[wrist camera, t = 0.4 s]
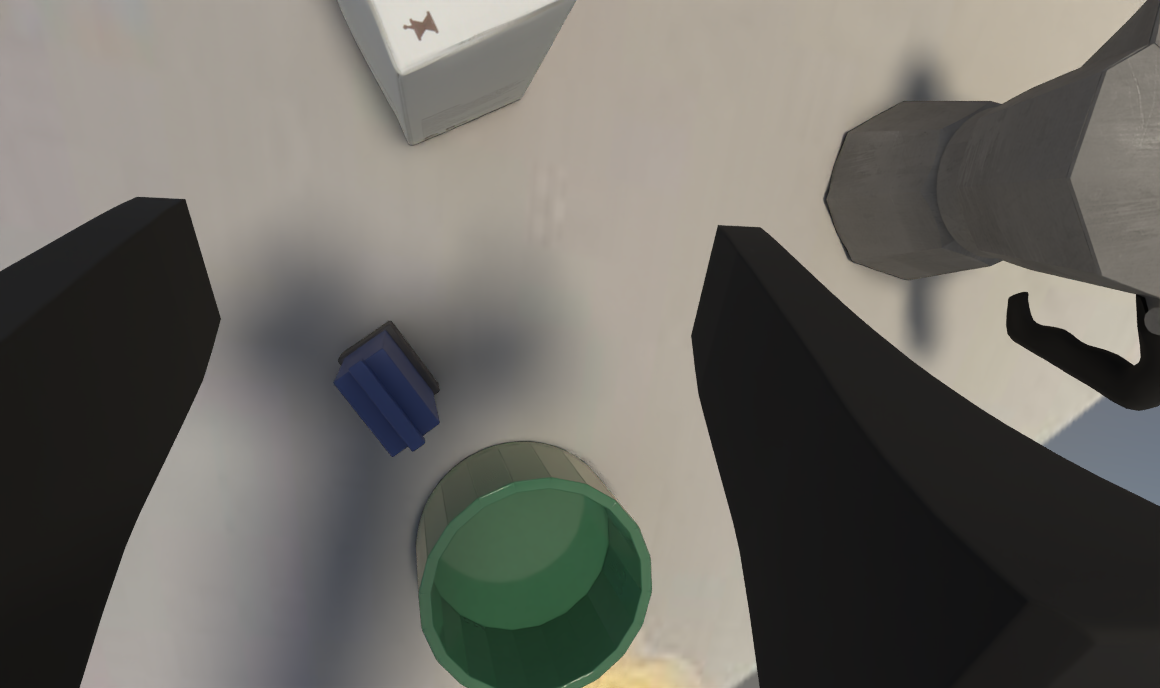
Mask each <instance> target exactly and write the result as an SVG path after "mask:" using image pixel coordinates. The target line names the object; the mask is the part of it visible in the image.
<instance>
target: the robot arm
mask: <svg viewBox="0 0 1160 688" xmlns="http://www.w3.org/2000/svg"><path fill="white" fill-rule="evenodd" d="M220 320H221V318H220V315H219V311H218V308H217V304H216V301H215V298H214V294H213V291H212V288H211V284H210V281H209V278H208V274H207V271H206V268H205V264H204V261H203V257H202V254H201V251H200V247H199V244H198V241H197V237H196V234H195V231H194V227H193V224H192V220H191V217H190V214H189V210H188V207H187V204H186V200H185V199H169V198H149V197H136V198H134V199H131V200H129V201H127V202H125V203H122V204H120V205H118V206H116V207H114V208H112V209H110V210H108V211H107V212H105V213H103V214H101V215H99V216H97V217H96V218H94V219H92V220H90V221H88V222H86V223H85V224H83V225H81V226H79V227H78V228H76V229H74V230H72V231H71V232H69V233H67V234H65V235H64V236H62V237H60V238H58V239H57V240H55V241H53V242H51V243H50V244H48V245H46V246H44V247H43V248H41V249H39V250H37V251H35V252H34V253H32V254H30V255H28V256H27V257H25V258H23V259H21V260H20V261H18V262H16V263H14V264H13V265H11V266H9V267H7V268H5V269H4V270H2V271H0V688H80V684H81V681H82V678H83V675H84V672H85V668H86V665H87V662H88V659H89V655H90V652H91V649H92V646H93V643H94V639H95V636H96V633H97V630H98V626H99V623H100V620H101V617H102V614H103V611H104V608H105V605H106V602H107V599H108V596H109V593H110V590H111V587H112V584H113V582H114V579H115V576H116V573H117V570H118V567H119V564H120V561H121V558H122V555H123V552H124V550H125V547H126V544H127V542H128V540H129V537H130V535H131V533H132V530H133V528H134V525H135V523H136V521H137V518H138V516H139V514H140V512H141V510H142V508H143V506H144V503H145V501H146V499H147V497H148V495H149V493H150V491H151V489H152V487H153V485H154V483H155V481H156V479H157V476H158V474H159V472H160V470H161V468H162V466H163V464H164V462H165V460H166V458H167V456H168V454H169V451H170V449H171V447H172V445H173V443H174V441H175V439H176V437H177V435H178V433H179V431H180V429H181V426H182V424H183V422H184V420H185V418H186V416H187V414H188V412H189V409H190V407H191V405H192V403H193V401H194V399H195V397H196V394H197V392H198V390H199V388H200V385H201V383H202V381H203V378H204V375H205V372H206V369H207V365H208V362H209V359H210V356H211V353H212V349H213V346H214V342H215V338H216V335H217V331H218V327H219V324H220ZM691 337H692V346H693V355H694V364H695V372H696V379H697V386H698V393H699V398H700V402H701V406H702V409H703V413H704V417H705V421H706V425H707V428H708V432H709V436H710V440H711V443H712V447H713V451H714V454H715V458H716V462H717V465H718V469H719V472H720V476H721V480H722V483H723V487H724V491H725V494H726V498H727V502H728V505H729V509H730V513H731V516H732V520H733V524H734V528H735V533H736V537H737V542H738V546H739V551H740V556H741V562H742V569H743V575H744V581H745V588H746V594H747V600H748V607H749V613H750V620H751V627H752V634H753V642H754V649H755V656H756V663H757V671H758V677H759V686H760V688H1160V506H1158V505H1156V504H1154V503H1152V502H1150V501H1148V500H1146V499H1144V498H1142V497H1140V496H1138V495H1136V494H1134V493H1132V492H1130V491H1127V490H1125V489H1123V488H1121V487H1119V486H1117V485H1115V484H1113V483H1111V482H1109V481H1107V480H1105V479H1103V478H1101V477H1099V476H1097V475H1095V474H1093V473H1091V472H1090V471H1088V470H1086V469H1084V468H1082V467H1080V466H1078V465H1076V464H1074V463H1073V462H1071V461H1069V460H1066V459H1065V458H1063V457H1061V456H1060V455H1058V454H1056V453H1054V452H1052V451H1051V450H1049V449H1047V448H1046V447H1044V446H1042V445H1040V444H1039V443H1037V442H1035V441H1033V440H1032V439H1030V438H1028V437H1027V436H1025V435H1023V434H1021V433H1020V432H1018V431H1016V430H1015V429H1013V428H1011V427H1009V426H1008V425H1006V424H1004V423H1003V422H1001V421H1000V420H998V419H996V418H995V417H993V416H992V415H990V414H988V413H987V412H985V411H984V410H982V409H980V408H979V407H977V406H976V405H974V404H973V403H971V402H970V401H968V400H967V399H966V398H964V397H963V396H961V395H960V394H958V393H957V392H955V391H954V390H952V389H951V388H949V387H948V386H947V385H945V384H944V383H942V382H941V381H939V380H938V379H936V378H935V377H933V376H932V375H931V374H929V373H928V372H927V371H925V370H924V369H923V368H921V367H920V366H918V365H917V364H916V363H914V362H913V361H912V360H911V359H909V358H908V357H907V356H905V355H904V354H903V353H902V352H900V351H899V350H898V349H897V348H896V347H894V346H893V345H892V344H891V343H889V342H888V341H887V340H886V339H884V338H883V337H882V336H881V335H879V334H878V333H877V332H876V331H874V330H873V329H872V328H871V327H870V326H869V325H867V324H866V323H865V322H864V321H863V320H862V319H860V318H859V317H858V316H857V315H856V314H855V313H853V312H852V311H851V310H850V309H849V308H848V307H847V306H846V305H844V304H843V303H842V302H841V301H840V300H839V299H838V298H837V297H836V296H835V295H833V294H832V293H831V292H830V291H829V290H828V289H827V288H826V287H825V286H824V285H823V284H822V283H820V282H819V281H818V280H817V279H816V278H815V277H814V276H813V275H812V274H811V273H810V272H809V271H808V270H807V269H806V268H805V267H803V266H802V265H801V264H800V263H799V262H798V261H797V260H796V259H795V258H794V257H793V256H792V255H791V254H790V253H789V252H788V251H787V250H785V249H784V248H783V247H782V246H781V245H780V244H779V243H778V242H777V241H776V240H775V239H774V238H772V237H771V236H770V235H769V234H768V233H767V232H765V231H764V230H763V229H762V228H760V227H743V226H722V225H718V227H717V231H716V236H715V240H714V244H713V248H712V252H711V256H710V260H709V264H708V269H707V273H706V277H705V281H704V285H703V289H702V293H701V297H700V302H699V306H698V310H697V314H696V318H695V322H694V326H693V330H692V335H691Z"/></svg>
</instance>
